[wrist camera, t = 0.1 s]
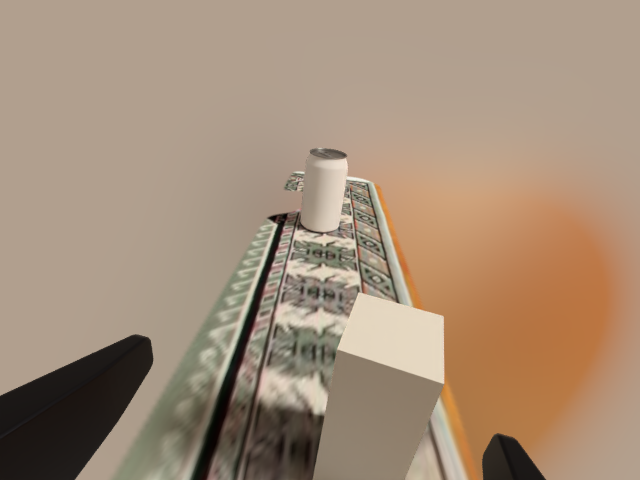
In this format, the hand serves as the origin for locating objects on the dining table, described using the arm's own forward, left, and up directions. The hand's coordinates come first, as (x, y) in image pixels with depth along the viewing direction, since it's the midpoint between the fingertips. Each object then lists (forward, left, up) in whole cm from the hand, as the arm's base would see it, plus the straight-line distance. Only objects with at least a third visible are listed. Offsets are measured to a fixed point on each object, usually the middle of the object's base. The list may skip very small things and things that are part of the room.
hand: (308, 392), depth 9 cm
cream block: (+9, -3, -17) cm, 19 cm away
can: (+45, +8, -17) cm, 48 cm away
